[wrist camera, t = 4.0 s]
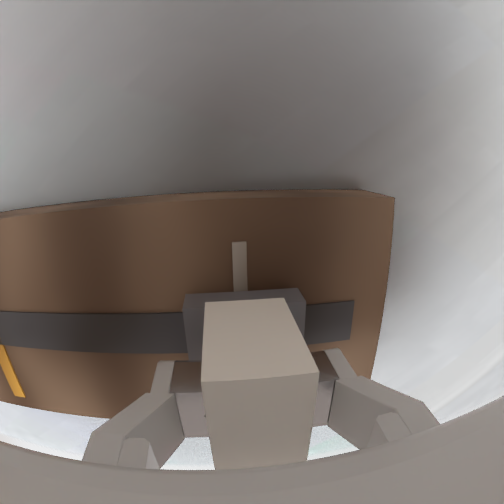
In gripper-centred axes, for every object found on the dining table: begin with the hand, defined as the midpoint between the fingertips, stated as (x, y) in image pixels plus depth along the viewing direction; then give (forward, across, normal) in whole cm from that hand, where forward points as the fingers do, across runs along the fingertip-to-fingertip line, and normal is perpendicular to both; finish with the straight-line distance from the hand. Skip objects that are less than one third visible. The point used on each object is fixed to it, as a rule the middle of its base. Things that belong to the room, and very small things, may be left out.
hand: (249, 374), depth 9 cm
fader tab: (+3, 0, 0) cm, 3 cm away
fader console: (+6, +6, 0) cm, 8 cm away
